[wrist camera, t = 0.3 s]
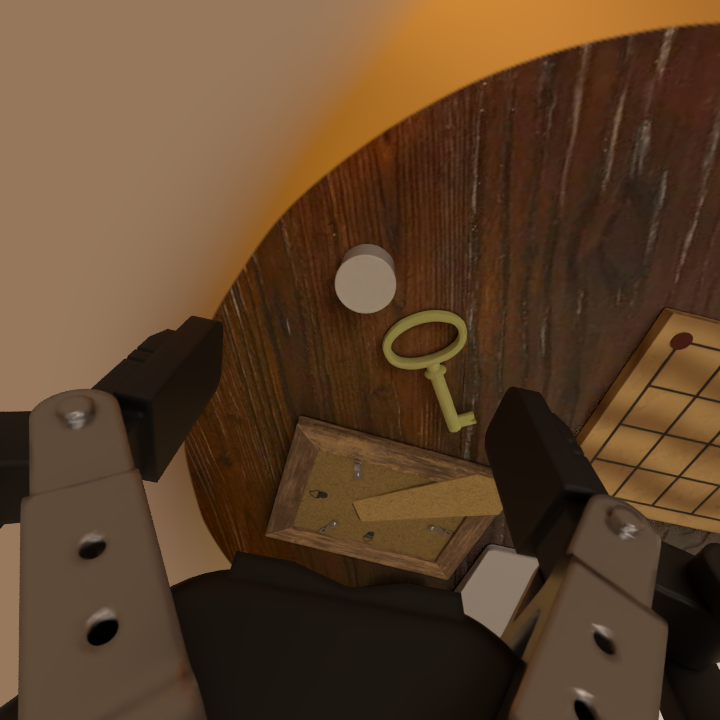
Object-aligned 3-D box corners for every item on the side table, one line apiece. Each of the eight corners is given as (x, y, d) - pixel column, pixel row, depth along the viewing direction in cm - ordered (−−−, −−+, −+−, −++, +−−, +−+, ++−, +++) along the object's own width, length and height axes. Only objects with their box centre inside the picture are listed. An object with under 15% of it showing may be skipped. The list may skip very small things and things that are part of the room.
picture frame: (516, 472, 43) (300, 413, 40) (520, 486, 41) (296, 425, 39) (446, 568, 52) (268, 525, 50) (448, 581, 50) (264, 538, 48)
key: (450, 424, 40) (454, 438, 38) (372, 338, 35) (371, 349, 34) (516, 387, 37) (523, 400, 35) (440, 289, 33) (443, 299, 31)
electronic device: (430, 622, 59) (431, 637, 57) (487, 542, 49) (491, 557, 47) (607, 658, 61) (613, 674, 60) (697, 590, 51) (707, 606, 49)
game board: (664, 307, 32) (674, 313, 31) (906, 366, 34) (924, 375, 33) (541, 488, 44) (545, 498, 42) (725, 527, 45) (734, 538, 44)
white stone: (345, 237, 31) (341, 248, 28) (402, 251, 31) (403, 263, 29) (333, 291, 33) (329, 306, 31) (387, 304, 34) (387, 319, 31)
